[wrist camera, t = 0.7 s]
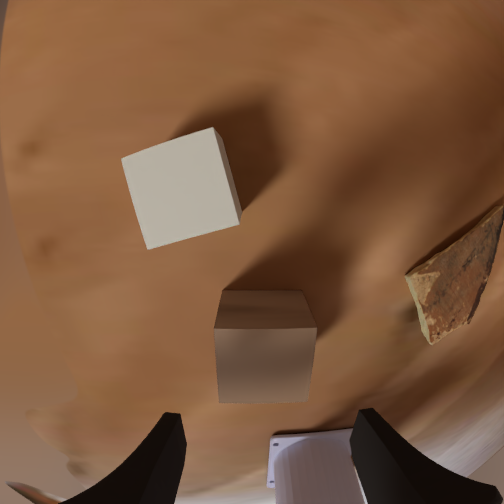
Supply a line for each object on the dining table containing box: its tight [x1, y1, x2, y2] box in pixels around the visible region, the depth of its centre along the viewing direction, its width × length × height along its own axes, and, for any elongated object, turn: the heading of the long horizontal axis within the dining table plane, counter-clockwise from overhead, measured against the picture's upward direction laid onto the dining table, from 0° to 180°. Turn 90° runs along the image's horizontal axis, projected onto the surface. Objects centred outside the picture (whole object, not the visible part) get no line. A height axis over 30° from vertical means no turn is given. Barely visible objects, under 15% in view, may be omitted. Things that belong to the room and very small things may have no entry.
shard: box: [405, 205, 504, 345], centre depth 18 cm, size 11×8×2 cm
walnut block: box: [214, 290, 317, 403], centre depth 17 cm, size 5×5×5 cm
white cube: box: [121, 127, 242, 250], centre depth 15 cm, size 4×4×4 cm
